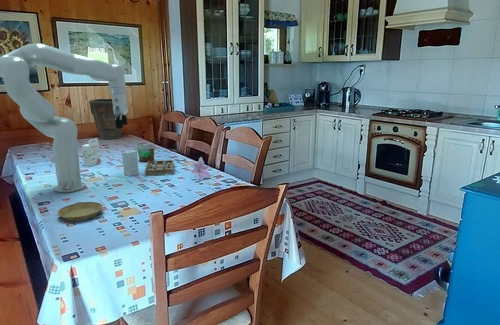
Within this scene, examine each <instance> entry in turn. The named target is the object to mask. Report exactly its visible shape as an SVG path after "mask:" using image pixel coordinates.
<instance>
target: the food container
mask: <svg viewBox="0 0 500 325" xmlns="http://www.w3.org/2000/svg"><path fill="white" fill-rule="evenodd" d="M135 148H136V149H137V156H138V161H139V162H140V163H147V162H148V161H155V144H141V142H138V143H136V146H135Z"/></svg>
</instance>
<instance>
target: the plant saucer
mask: <svg viewBox="0 0 500 325" xmlns="http://www.w3.org/2000/svg"><path fill="white" fill-rule="evenodd" d="M103 207H104V206H103V204H102V203H100V202H97V201H84V202H83V201H82V202H76V203H72V204H68V205H66V206H63V207H61V208H59V210H58V211H57V215H58V216H59V217H61V218H62V219H64V220H66V221H68V222H69V221H70V222H81V221H85V220H89V219H92V218H94V217H96V216H97V215H98V214H99V213H100V212H101V210H102V209H103Z"/></svg>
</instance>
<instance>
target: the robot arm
mask: <svg viewBox="0 0 500 325" xmlns="http://www.w3.org/2000/svg"><path fill="white" fill-rule="evenodd" d="M36 66H39V67H40V66H41V67H45V68H48V69H52V70H54V71H60V72H62V73H65V74H71V75H78V76H79V75H82V76H89V78H91V79H92V80H93V81H96V82H108V90H109V95H111V99H112V102H113V111H114V115H115V123H116V128H121V129H123V128H124V126H125V125H126V126H127V125H128V117H127V114H128V112H129V110H128V109H129V108H128V103H127V102H128V101H127V97H126V95H127V86H126V77H125V68H124V66H123V65H122V64H111V63H108V62H105V61H102V60H99V59H95V58H91V57H88V56H83V55H80V54H75V53H72V52H69V51H66V50H64V49H59V48H56V47H55V46H51V45H47V44H45V43H38V42H37V43H29V44H26V45H23V46H21V47H19V48H16V49H15V50H12V51H10V52H8V53H5V54H4V55H2V56H0V78H2V79H3V83H4V84H3V85H4V87H5V88H4V89H5V91H6V93H7V95H8V96H9V97H10V98H11V100H12V101H13V102H15V103H16V104H17V105H18V106H19V111H20V114H21V116H22V117H23V119H24V120H26V121H27V122H28V123H29V124H30V125H31V126H33V127H34V128H35V129H37V130H38V131H40V132H41V134H43V135H44V136H46V137H47V138H52V139H53V141H52V142H53V143H52V153H53V160H54V167H55V175H56V181H57V182H56V183H57V185H55V186H54V188H53V190H54V191H55V192H57V193H72V192H77V191H81V190H84V189H85V188H86V187H87V186H86V185H87V184H86V183H85V182H83V181H82V175H81V174H82V173H81V168H80V167H81V166H80V157H79V151H78V126H77V124H76V123H75V122H74V120H72V119H70V118H67V117H62V116H56V114H57V113H56V112H57V111H56V109H55V107H54V106H53V104H52V103H51V102H50V101H48V100H47V99H46V98H45V97H44V95H41V94H40V92H38V91H37V90H36V89H35V88H34V87H33V85H32V84H31V82H30V70H31V69H32V68H33V67H34V68H35V67H36ZM40 132H39V133H40Z"/></svg>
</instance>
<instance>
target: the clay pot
mask: <svg viewBox="0 0 500 325" xmlns="http://www.w3.org/2000/svg"><path fill="white" fill-rule="evenodd" d="M88 104H89V109H90V113H91V115H92V116H93V120H94V125H95V127H96V130H97V133H98V140H101V141H112V140H113V141H114V140H119V139H122V138H123V132H122V128H116V123H115V115H114V111H113V102H112V98H98V99H97V98H96V99H90V100H88Z"/></svg>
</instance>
